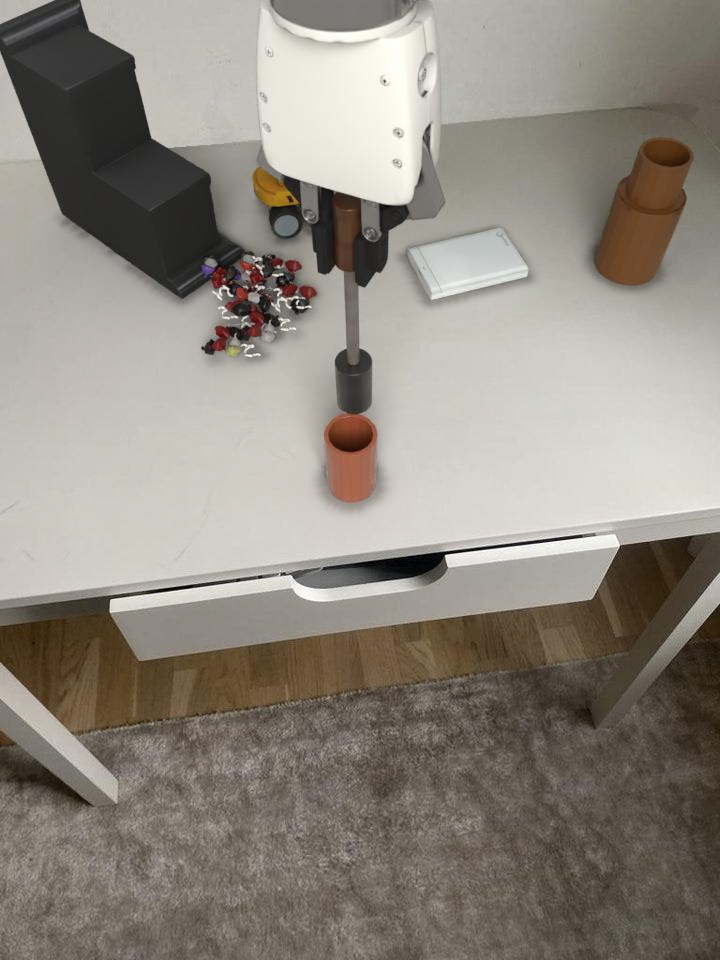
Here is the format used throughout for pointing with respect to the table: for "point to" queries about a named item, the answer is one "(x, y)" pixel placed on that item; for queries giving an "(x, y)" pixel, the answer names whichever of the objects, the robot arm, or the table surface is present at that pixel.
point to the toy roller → (278, 204)
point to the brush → (350, 311)
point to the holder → (351, 457)
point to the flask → (644, 212)
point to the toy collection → (253, 299)
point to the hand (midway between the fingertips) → (350, 266)
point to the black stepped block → (110, 149)
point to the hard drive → (467, 263)
